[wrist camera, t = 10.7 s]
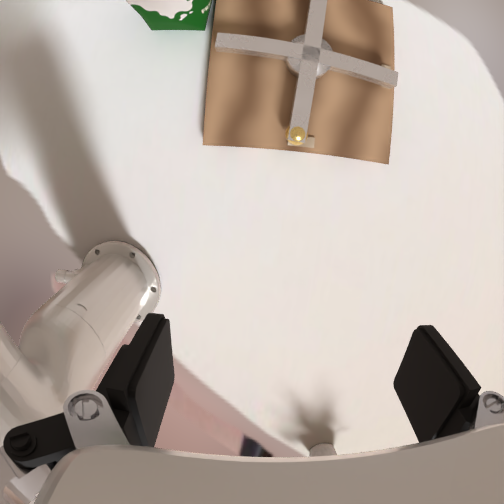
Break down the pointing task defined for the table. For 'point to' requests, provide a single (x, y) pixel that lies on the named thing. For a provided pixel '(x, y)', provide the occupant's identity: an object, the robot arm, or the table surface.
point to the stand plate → (283, 82)
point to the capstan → (306, 64)
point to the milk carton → (173, 13)
